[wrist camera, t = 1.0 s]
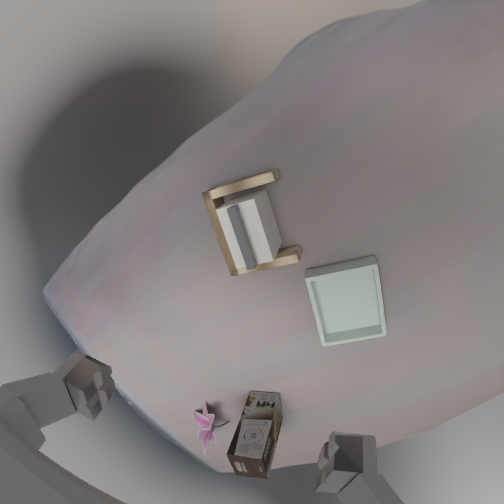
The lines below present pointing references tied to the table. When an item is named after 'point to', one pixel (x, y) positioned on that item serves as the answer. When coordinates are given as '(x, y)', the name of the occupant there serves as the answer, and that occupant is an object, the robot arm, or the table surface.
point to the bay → (212, 203)
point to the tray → (347, 301)
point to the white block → (250, 229)
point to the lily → (206, 427)
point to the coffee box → (256, 435)
